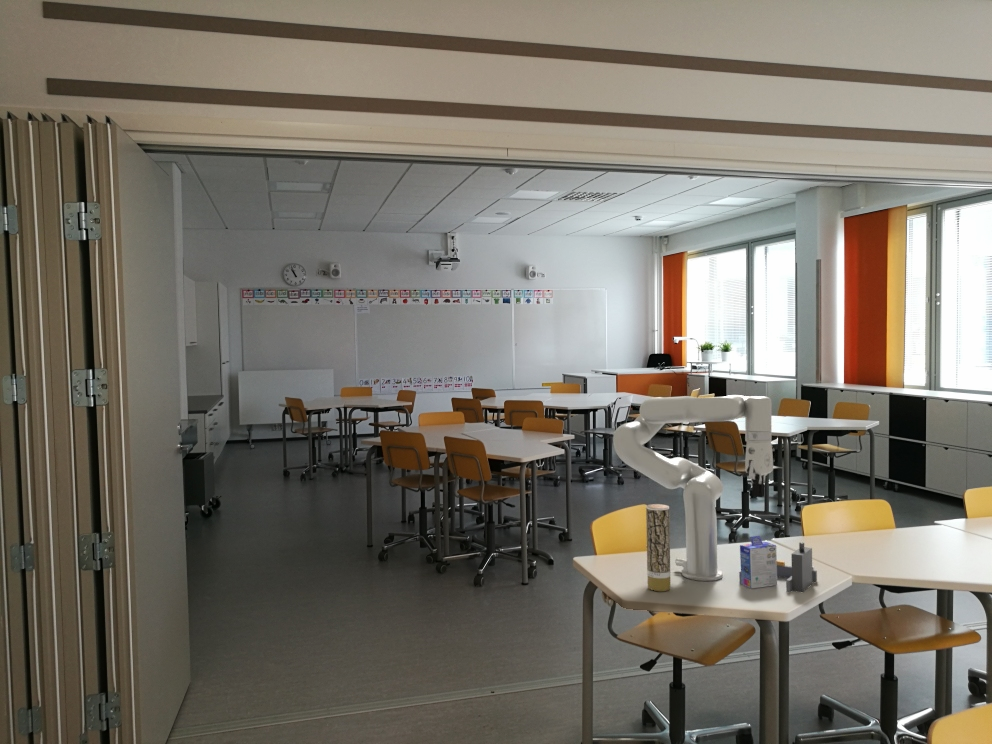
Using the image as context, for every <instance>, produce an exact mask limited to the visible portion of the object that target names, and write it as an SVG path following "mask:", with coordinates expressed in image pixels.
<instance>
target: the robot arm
mask: <svg viewBox="0 0 992 744" xmlns="http://www.w3.org/2000/svg"><path fill="white" fill-rule="evenodd" d="M744 418H745V423H744V425H745V426H744V427H745V431H744V432H745V433H744V434H745V437H744V439H745V442H746V445H745V447H746V448H745V461H744V463H745V465H744V467H745V473H746V474H748V478H749V479H750V480H751V489H752V490H751V493H752V494H751V495H752V497H757V498H763V497H765V490H766V489H765V487H766V486H765V484H766V476H768V474H770V473H772V472H773V471H774V458H773V457H774V456H773V447H772V399H771V398H770V397H768V396H764V395H763V396H762V395H761V396H760V395H759V396H757V395H754V396H753V395H751V396H746V395H745V396H744V395H740V394H731V395H726V396H714V397H712V396H711V397H694V396H689V395H688V396H687V395H684V396H683V395H682V396H668V397H662V396H658V397H657V396H656V397H651V398H647V399H645V400H644V401H643V402H642V403H641V405H640V407H639V415H638V416H637V417H636V418H635V419H634V421H630V422H625V423H622V424H621V425H620V426H618V427H617V428H616V430H615V431H614V433H613V435H612V436H613V437H612V438H613V439H612V440H613V441H612V445H613V448H614V451H615V453H616V454H617V456H618V458H620V460H621V462H623V463H625V464H626V465H627V466H628V467H630V468H632V469H634V470H635V471H637V472H639V473H641V474H642V475H644V476H646V477H647V478H649V479H651V480H652V481H654V482H656V483H658V484H659V485H661V486H663V487H664V488H665V489H669V490H674V489H675V490H676V489H678V488H681V489H683V493H682V494H683V496H682V497H683V504H684V505H683V506H684V511H685V512H684V514H685V515H684V516H685V545H686V546H685V551H686V552H685V553H686V555H685V556H686V557H685V559H684V558H680V557H679V558H678V557H676V558H675V566H677V567H682V569H681V575H682V576H683V577H684V578H686V579H689V580H694V581H703V582H711V581H717V580H720V579H722V578H723V574H724V573H723V571H721V570H720V569H718V530H717V529H718V528H717V527H718V524H717V522H718V521H717V511H716V504H715V503H716V502H715V501H717V500H719V498H720V497H721V496H722V493H723V490H724V486H723V483H722V480H721V479H720V478H719V477H718V476H717V475H715V473H713V472H711V471H709V470H708V469H705V468H704V467H701V466H700V465H698V464H697V463H694V462H693V461H690V460H689V459H686V458H683V457H679V456H677V457H676V456H675V457H673V458H669V457H666V456H664V455H662V454H660V453H658V452H657V451H655V450H653V449H651V448H649V447H646V446H645V444H646V443H648V442H649V441H650V440H651V439H652V438H654V436H655V435H656V434H657V433H658V432H659V431H660V430H661V428H663V426H664V425H665V424H678V423H679V424H680V423H681V424H682V423H685V424H687V423H691V424H692V423H704V422H712V423H713V422H728V421H729V422H731V421H734V420H738V419H744Z"/></svg>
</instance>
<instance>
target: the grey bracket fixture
mask: <svg viewBox="0 0 992 744" xmlns="http://www.w3.org/2000/svg"><path fill="white" fill-rule="evenodd" d="M798 546H799V547H798V549H796V550H795V551H793V552H792V553H791V566H789V565H786V561H783V560H782V561H781V560H777V577H779V576H780V578H785V577H786V578H787V579H786V580H785V581H786V583H785V584H786V585H785V588H786V593H792V592H796V591H797V592H796V593H801V592H803V593H804V592H805V591H806V590H807V589H809V588H810V587H811V586H812V585H813V583H814V582H816V583H817V582H818V571H817V570H815V566H814V565H813V548H812V547H807V546H805V542H801V541H800V542H798ZM738 573H739V574H738V575H739V576H738V577H739V578H738V579H739V582H738V583H739V584H741V570H740V571H739V572H738ZM741 585H742V584H741ZM810 585H811V586H810ZM809 586H810V587H809ZM808 587H809V588H808Z"/></svg>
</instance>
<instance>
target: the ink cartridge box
mask: <svg viewBox="0 0 992 744" xmlns="http://www.w3.org/2000/svg"><path fill="white" fill-rule="evenodd" d="M749 538H750V543H748V544H747V543H746V544H740V545H739V554H740V557H739V558H740V571H741V585H743V586H744V587H747V588H749V589H758V588H764V587H772V586H777V585H778V576H777V561H778V560H777V559H778V558H777V545H776V544H773V543H770V542H767V541H762V538H761V536H760V535H755V536H754V535H753V536H749ZM755 539H757V540H755ZM754 540H755V541H754Z"/></svg>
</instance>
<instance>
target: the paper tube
mask: <svg viewBox="0 0 992 744" xmlns="http://www.w3.org/2000/svg"><path fill="white" fill-rule="evenodd" d="M645 510H646V511H645V512H646V513H645V514H646V515H645V516H646V519H645V520H646V521H645V522H646V563H647V564H646V566H647V567H646V569H647V572H646V573H647V574H646V575H647V588H648V589H649V590H650V589H651V591H653V590H654V591H653V592H667V591H669V590H670V589H671V538H670V536H671V535H670V534H671V533H670V531H671V529H670V527H671V526H670V506H669V505H667V504H661V503H654V504H653V503H651V504H647V505H646V507H645Z"/></svg>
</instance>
